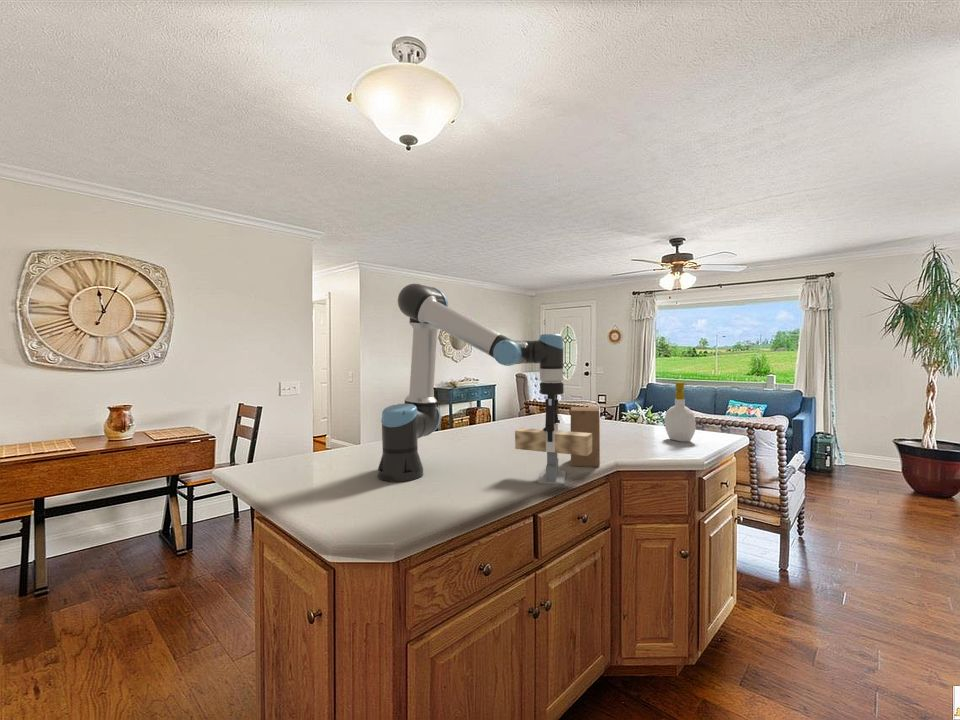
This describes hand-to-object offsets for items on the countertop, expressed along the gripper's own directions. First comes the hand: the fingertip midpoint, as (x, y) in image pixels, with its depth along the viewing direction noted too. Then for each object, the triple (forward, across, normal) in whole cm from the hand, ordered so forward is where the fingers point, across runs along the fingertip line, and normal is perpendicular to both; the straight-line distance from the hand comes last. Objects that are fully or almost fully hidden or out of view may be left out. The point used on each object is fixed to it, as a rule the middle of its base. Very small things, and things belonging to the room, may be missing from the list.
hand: (552, 447), depth 149 cm
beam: (+1, 0, 0) cm, 1 cm away
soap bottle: (+10, +70, -51) cm, 87 cm away
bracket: (+10, 0, 0) cm, 10 cm away
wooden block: (+10, +21, -10) cm, 25 cm away
